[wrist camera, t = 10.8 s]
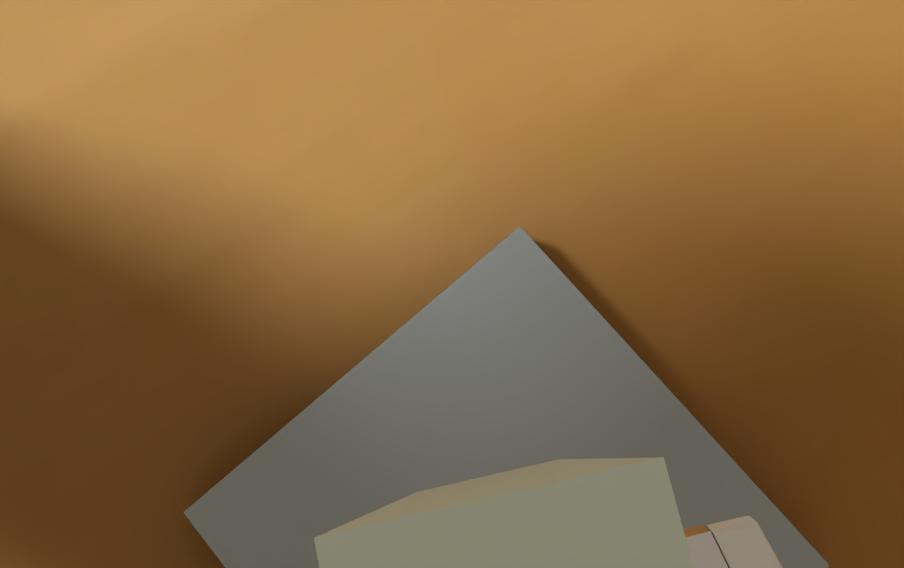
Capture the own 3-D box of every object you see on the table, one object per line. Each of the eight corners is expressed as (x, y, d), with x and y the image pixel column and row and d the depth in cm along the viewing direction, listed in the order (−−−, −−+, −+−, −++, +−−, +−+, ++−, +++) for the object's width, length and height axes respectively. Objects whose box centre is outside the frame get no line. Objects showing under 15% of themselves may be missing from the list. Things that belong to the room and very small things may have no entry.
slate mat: (195, 510, 24) (182, 512, 23) (518, 234, 25) (519, 226, 24) (478, 878, 22) (477, 899, 21) (814, 560, 23) (829, 565, 22)
